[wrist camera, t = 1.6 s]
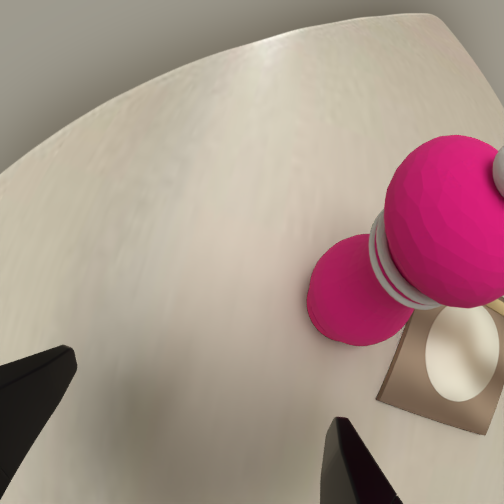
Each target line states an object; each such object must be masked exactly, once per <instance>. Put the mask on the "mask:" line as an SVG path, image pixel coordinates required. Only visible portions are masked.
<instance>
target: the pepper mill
mask: <svg viewBox="0 0 504 504" xmlns="http://www.w3.org/2000/svg"><path fill="white" fill-rule="evenodd" d="M503 295H504V146H503V147H502V148H501V149H500V150H499V151H497V150H496V149H495V148H493V147H492V146H491V145H489V144H487V143H485V142H483V141H480V140H478V139H475V138H472V137H467V136H461V135H450V136H440V137H437V138H434V139H432V140H430V141H428V142H426V143H424V144H422V145H421V146H419V147H418V148H416V149H415V150H414V151H413V152H411V153H410V154H409V155H408V156H407V157H406V159H405V160H404V161H403V162H402V163H401V165H400V166H399V167H398V168H397V169H396V172H395V174H394V176H393V178H392V180H391V182H390V184H389V186H388V188H387V193H386V198H385V206H384V209H383V210H382V211H381V212H380V214H379V215H378V216H377V218H376V219H375V221H374V223H373V225H372V228H371V231H370V234H361V235H356V236H353V237H350V238H347V239H344V240H342V241H340V242H338V243H336V244H335V245H334V246H333V247H331V248H330V249H329V250H328V251H327V252H326V253H325V254H324V255H323V256H322V257H321V258H320V260H319V261H318V262H317V264H316V266H315V268H314V270H313V273H312V276H311V280H310V287H309V290H308V295H307V309H308V313H309V317H310V319H311V321H312V323H313V324H314V326H315V327H316V328H317V330H319V331H320V332H321V333H322V334H323V335H325V336H326V337H328V338H330V339H332V340H335V341H340V342H343V343H346V344H349V345H355V346H368V345H373V344H376V343H379V342H382V341H385V340H387V339H388V338H390V337H392V336H393V335H395V334H396V333H397V332H398V331H399V330H400V329H401V328H402V327H403V326H404V325H405V324H406V322H407V321H408V320H409V318H410V316H411V314H412V313H413V311H414V309H420V310H428V309H433V308H436V307H439V306H441V305H446V306H449V307H458V308H468V309H469V308H474V307H478V306H483V305H486V304H488V303H490V302H493V301H495V300H496V299H498V298H500V297H501V296H503Z"/></svg>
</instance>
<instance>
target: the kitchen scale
mask: <svg viewBox="0 0 504 504" xmlns="http://www.w3.org/2000/svg"><path fill="white" fill-rule="evenodd" d="M503 385H504V298H503V297H502V296H501V297H500V298H498V299H496V300H495V301H493V302H490V303H488V304H486V305H483V306H478V307H474V308H469V309H468V308H458V307H449V306H446V305H441V306H439V307H436V308H433V309H428V310H420V309H414V311H413V313H412V314H411V316H410V318H409V320H408V321H407V323H406V326H405V329H404V332H403V334H402V337H401V340H400V343H399V345H398V348H397V350H396V353H395V356H394V358H393V361H392V363H391V366H390V368H389V370H388V373H387V375H386V378H385V380H384V382H383V385H382V387H381V389H380V391H379V394H378V396H377V398H376V400H379V401H381V402H384V403H387V404H389V405H392V406H395V407H398V408H400V409H403V410H406V411H409V412H412V413H414V414H417V415H420V416H423V417H426V418H429V419H432V420H435V421H438V422H441V423H444V424H447V425H451V426H454V427H457V428H460V429H464V430H467V431H470V432H474V433H477V434H481V435H486V433H487V430H488V428H489V425H490V423H491V420H492V418H493V415H494V412H495V409H496V407H497V404H498V401H499V398H500V395H501V392H502V389H503Z"/></svg>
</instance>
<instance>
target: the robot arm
mask: <svg viewBox="0 0 504 504" xmlns="http://www.w3.org/2000/svg"><path fill="white" fill-rule="evenodd" d="M76 371H77V362H76V357H75V353H74V350H73V348H71V347H69V346H66V345H60V346H58V347H55V348H52V349H49V350H46V351H43V352H40V353H37V354H34V355H31V356H28V357H25V358H22V359H19V360H16V361H13V362H10V363H7V364H4V365H1V366H0V499H1V498H2V496H3V494H4V492H5V490H6V489H7V487H8V485H9V483H10V482H11V480H12V478H13V476H14V475H15V473H16V471H17V469H18V468H19V466H20V464H21V463H22V461H23V459H24V458H25V456H26V454H27V453H28V451H29V450H30V448H31V446H32V445H33V443H34V442H35V440H36V438H37V437H38V435H39V434H40V432H41V430H42V429H43V427H44V426H45V424H46V423H47V421H48V420H49V418H50V417H51V415H52V414H53V412H54V411H55V409H56V408H57V406H58V404H59V403H60V401H61V399H62V397H63V396H64V394H65V392H66V390H67V388H68V386H69V384H70V382H71V380H72V378H73V377H74V375H75V373H76ZM396 495H397V494H396V492H395V491H394V489H393V488H392V486H391V485H390V483H389V481H388V480H387V478H386V477H385V475H384V474H383V472H382V471H381V469H380V467H379V466H378V464H377V463H376V461H375V460H374V458H373V457H372V455H371V453H370V452H369V450H368V449H367V447H366V446H365V444H364V443H363V441H362V439H361V438H360V436H359V435H358V433H357V432H356V430H355V428H354V427H353V425H352V424H351V422H350V421H349V419H348V418H345V417H335V418H334V419H333V421H332V423H331V425H330V427H329V429H328V431H327V434H326V438H325V447H324V455H323V463H322V470H321V481H320V504H403V503H402V501H401V500H400V498H399V497H398V496H396Z"/></svg>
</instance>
